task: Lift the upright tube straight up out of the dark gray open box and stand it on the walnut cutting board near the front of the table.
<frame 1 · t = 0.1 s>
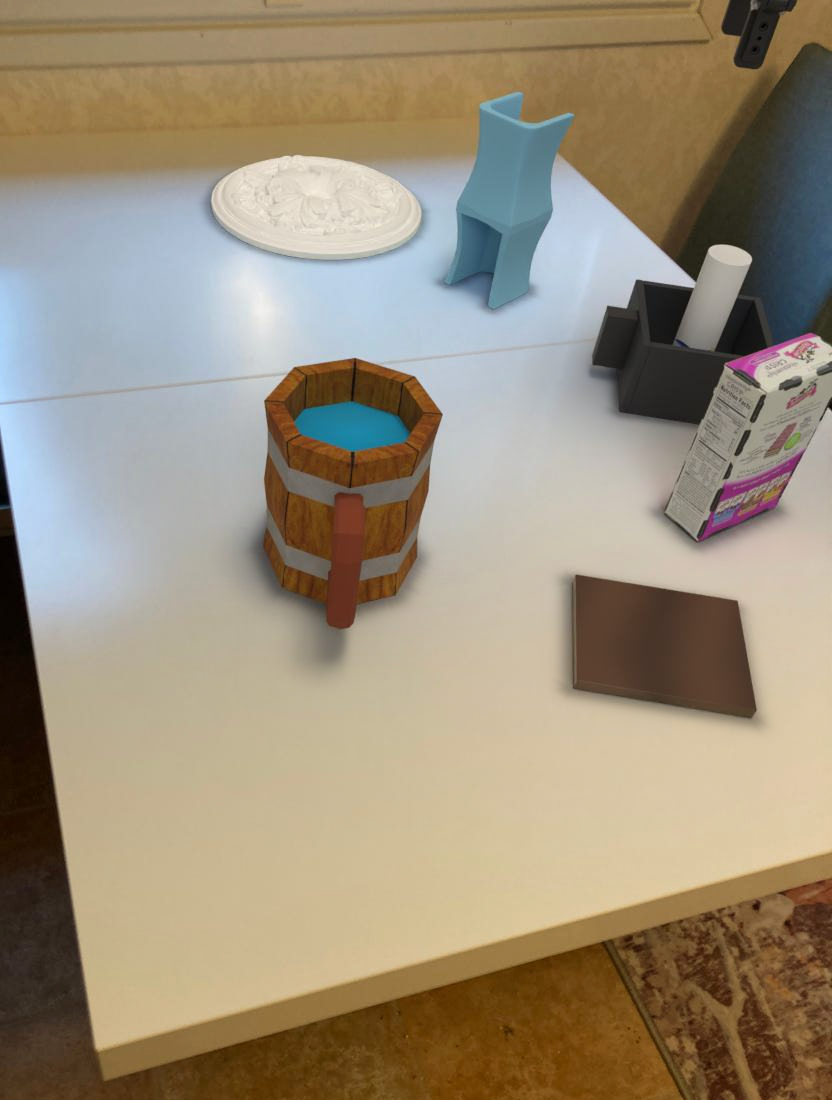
hand: (738, 49, 76), 33 cm above the table, tool pointing down, fingers open, 8 cm apart
candy bar box: (717, 511, 89), on the table
tube: (677, 387, 103), resting in dark gray open box
dark gray open box: (678, 386, 103), on the table
mug: (339, 578, 79), on the table
cutting board: (657, 646, 77), on the table
ceiling medallion: (316, 210, 125), on the table
blue flared stand: (488, 287, 114), on the table
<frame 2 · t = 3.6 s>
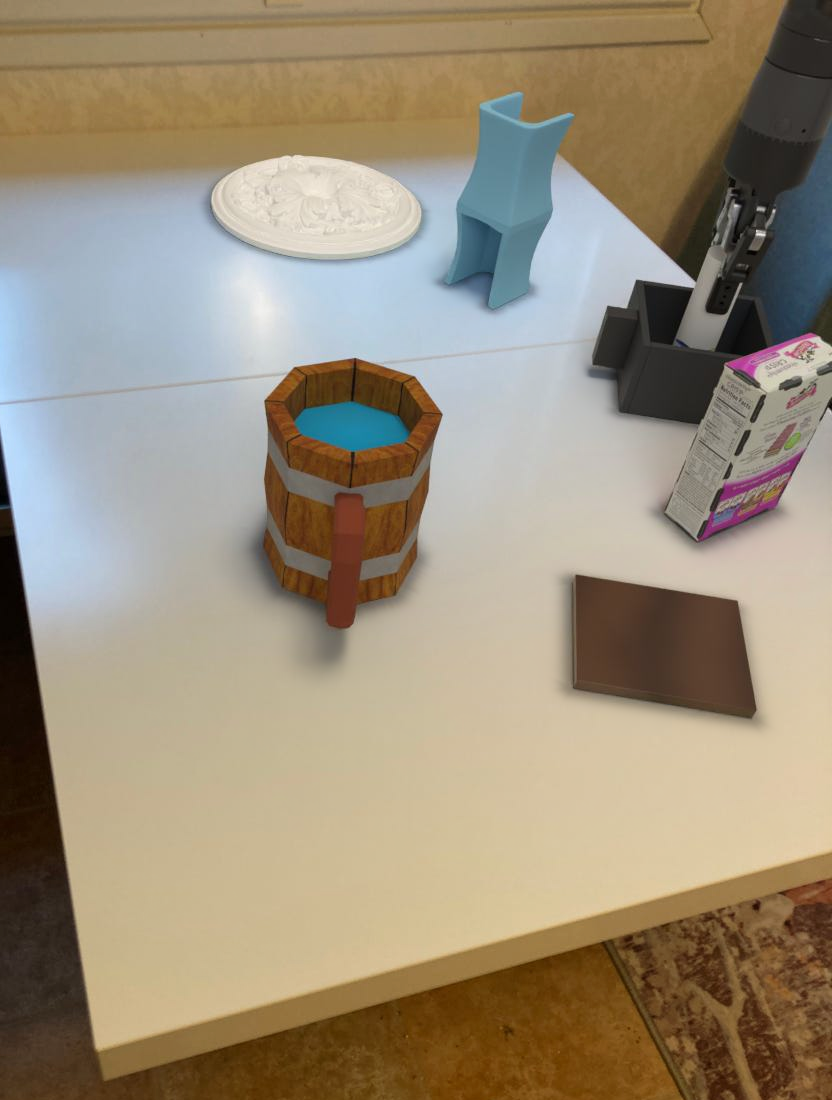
hand: (712, 299, 95), 10 cm above the table, tool pointing down, fingers closed on tube, 4 cm apart
tube: (677, 387, 103), resting in dark gray open box, touching gripper
everything else where it was.
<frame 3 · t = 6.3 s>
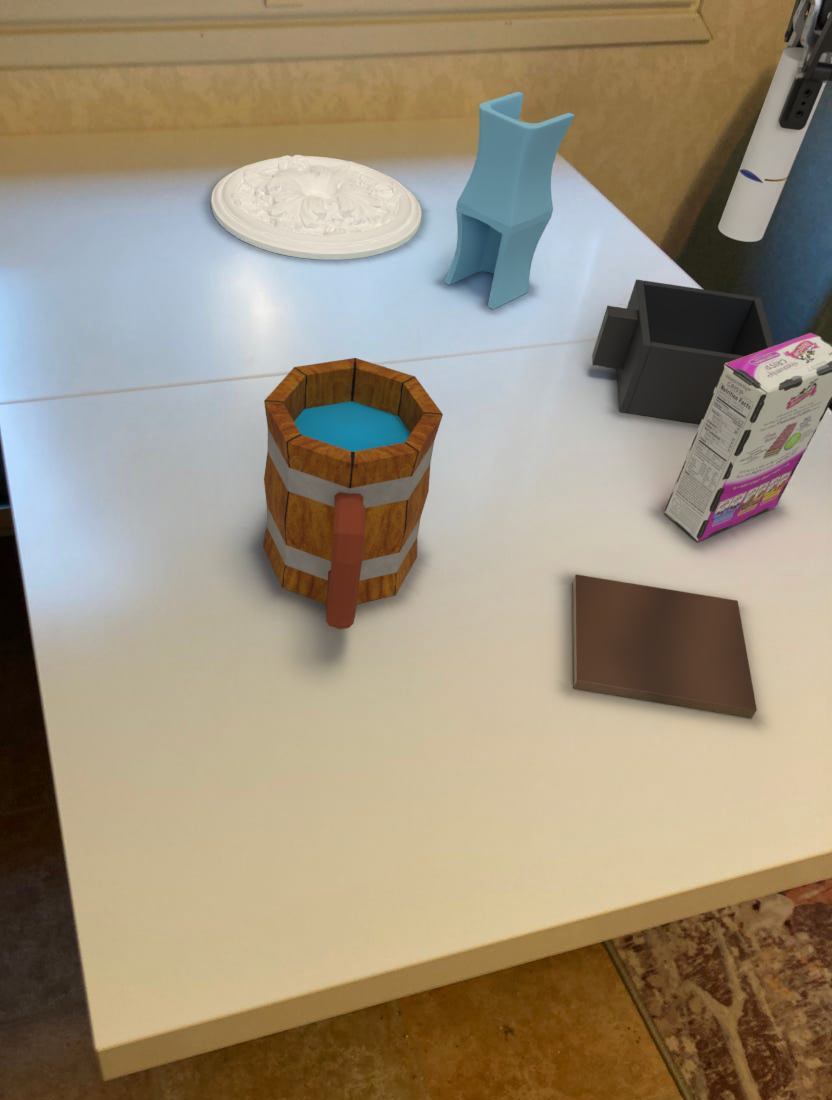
hand: (785, 116, 82), 28 cm above the table, tool pointing down, fingers closed on tube, 4 cm apart
tube: (739, 233, 90), point 17 cm above the table, touching gripper
everything else where it was.
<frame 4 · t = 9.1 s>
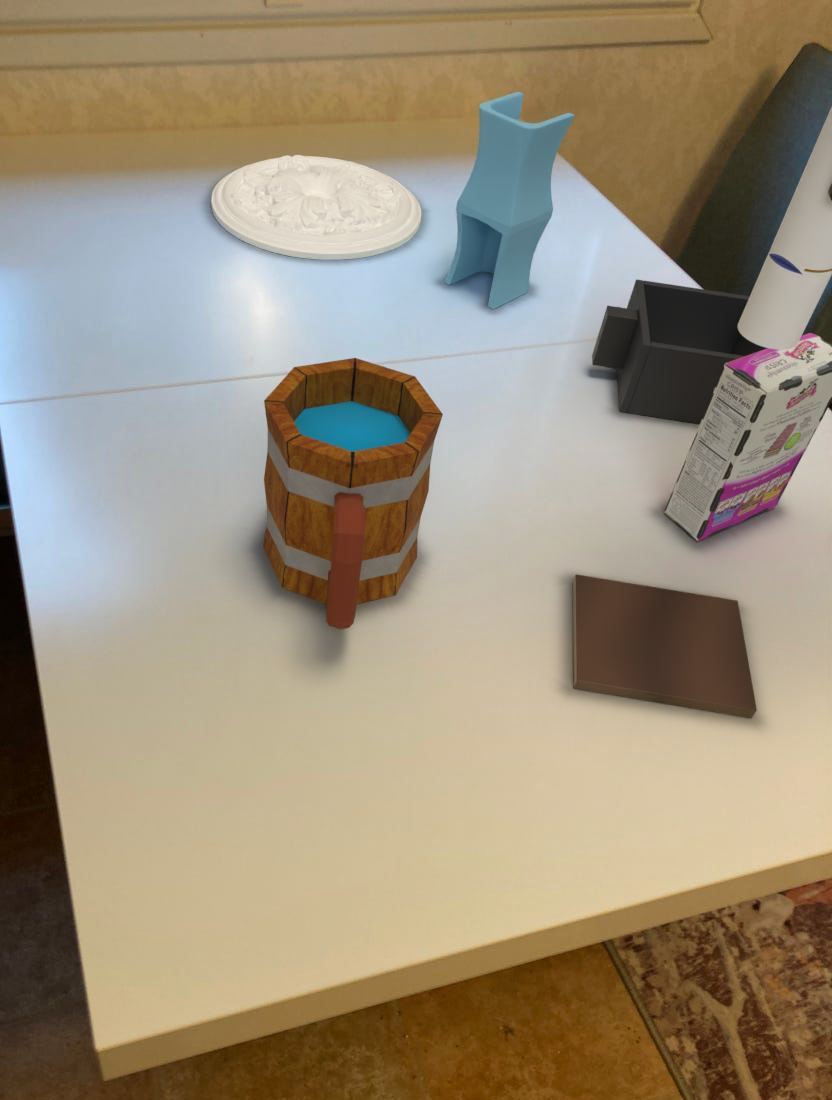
tube: (766, 335, 66), point 23 cm above the table, touching gripper
everything else where it was.
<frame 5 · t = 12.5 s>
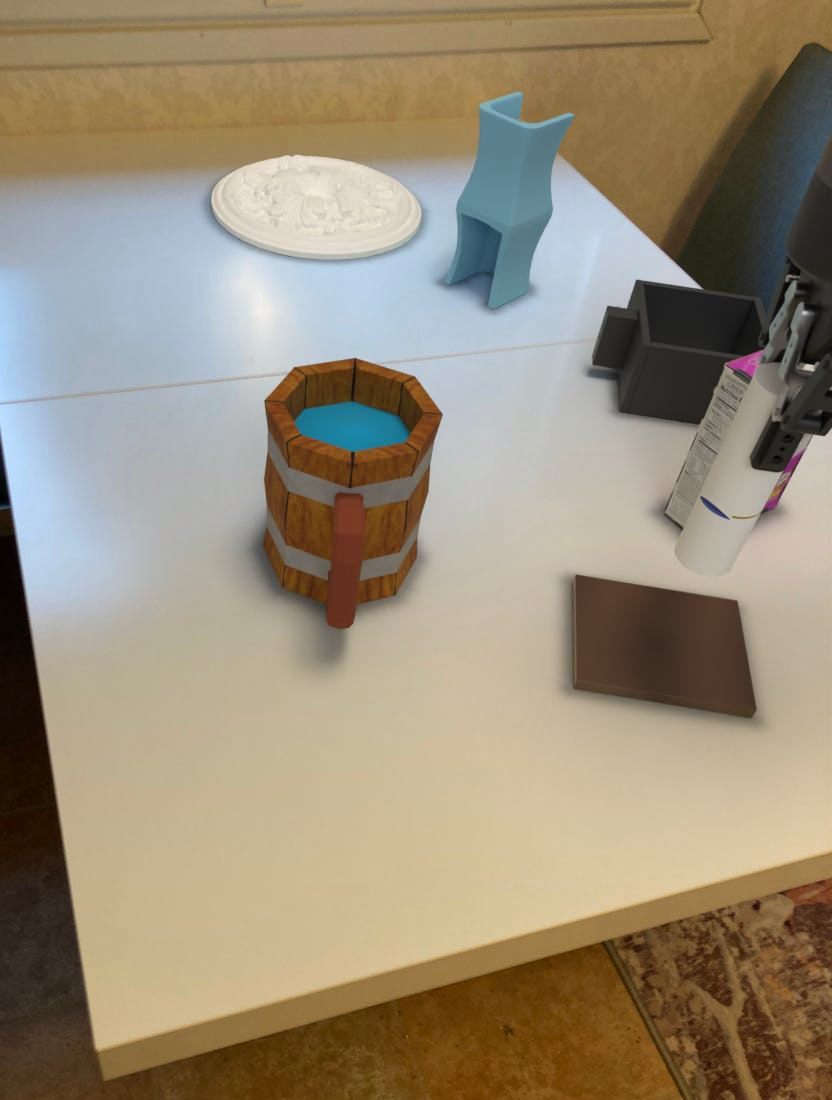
hand: (760, 443, 61), 21 cm above the table, tool pointing down, fingers closed on tube, 4 cm apart
tube: (702, 558, 69), point 10 cm above the table, touching gripper
everything else where it was.
when the fingers open (11 cm above the table, at t = 15.0 s): tube stays where it is, resting on cutting board.
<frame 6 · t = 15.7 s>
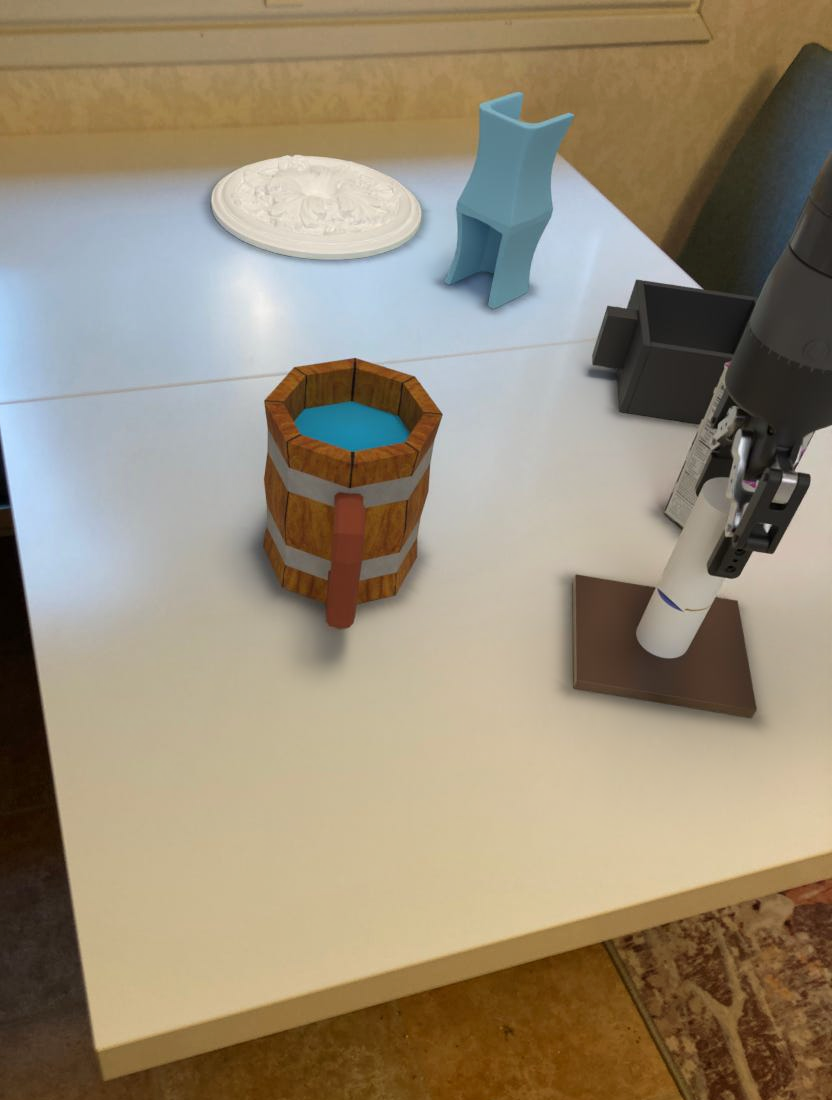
hand: (714, 533, 67), 13 cm above the table, tool pointing down, fingers open, 8 cm apart
tube: (661, 639, 76), point 1 cm above the table, touching cutting board
everything else where it was.
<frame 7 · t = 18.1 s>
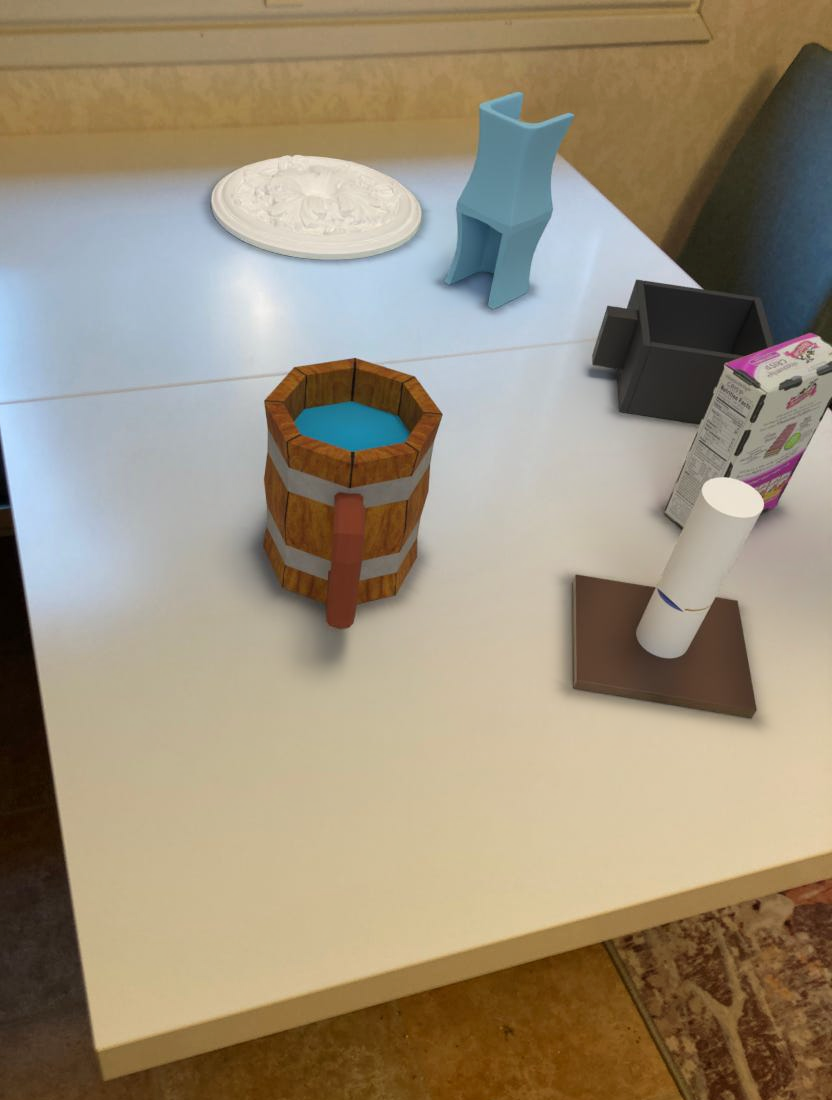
nothing on the table moved.
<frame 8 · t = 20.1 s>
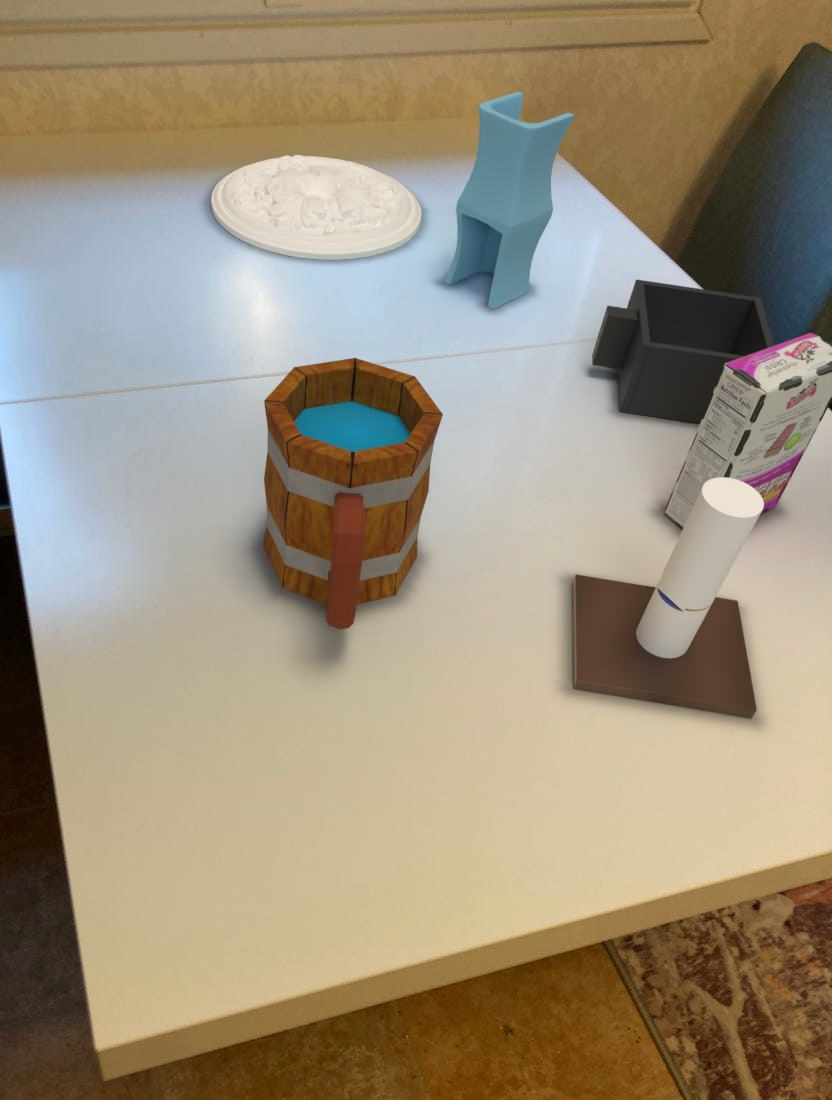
nothing on the table moved.
at the end: tube inside the target area on the cutting board (0.1 cm from its centre), point 0.8 cm above the cutting board's base; tube tilted 0°; the gripper is holding nothing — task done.
